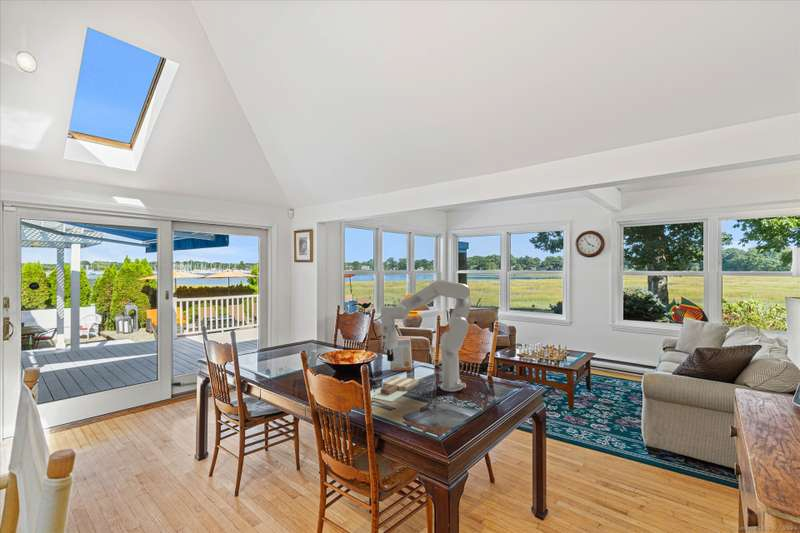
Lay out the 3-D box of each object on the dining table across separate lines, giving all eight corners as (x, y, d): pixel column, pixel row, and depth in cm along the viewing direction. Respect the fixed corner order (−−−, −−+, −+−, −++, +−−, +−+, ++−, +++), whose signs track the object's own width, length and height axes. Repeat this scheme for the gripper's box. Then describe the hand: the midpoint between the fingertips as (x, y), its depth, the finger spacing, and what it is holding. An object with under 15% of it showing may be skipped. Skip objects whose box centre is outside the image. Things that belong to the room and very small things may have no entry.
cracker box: (412, 368, 255) (410, 337, 255) (411, 371, 249) (410, 339, 249) (391, 368, 257) (390, 338, 256) (390, 371, 251) (389, 340, 250)
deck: (418, 384, 223) (418, 379, 222) (406, 391, 211) (406, 387, 211) (396, 380, 231) (396, 376, 231) (383, 387, 219) (382, 383, 219)
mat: (407, 392, 210) (407, 391, 210) (391, 401, 196) (391, 401, 196) (381, 387, 220) (381, 386, 220) (364, 396, 206) (364, 395, 206)
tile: (398, 389, 213) (398, 385, 213) (389, 395, 205) (389, 390, 205) (389, 388, 216) (389, 384, 216) (380, 393, 209) (380, 389, 209)
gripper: (386, 331, 203) (388, 365, 203) (401, 326, 215) (403, 358, 216) (375, 330, 207) (377, 363, 207) (390, 325, 219) (392, 357, 220)
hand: (390, 360), depth 211 cm, fingers closed
